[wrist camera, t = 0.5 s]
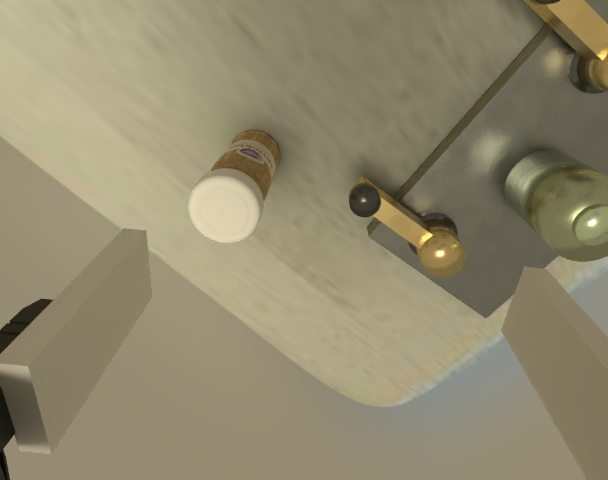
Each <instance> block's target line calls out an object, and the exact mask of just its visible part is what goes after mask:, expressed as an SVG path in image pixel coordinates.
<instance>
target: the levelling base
mask: <svg viewBox="0 0 608 480" xmlns="http://www.w3.org/2000/svg"><path fill="white" fill-rule="evenodd" d="M584 1H585V2H586V3H587V4H588V5H589V6H590V7H591V8H592V9H593V10H594V11H595V12H596V13H597V14H598V15H599V16H600V17H601V18H602V19H603V20H604V21H605V22H606V23H607V24H608V0H584ZM579 57H580V55H579V54H578V53H577V52H576V51H575V50H574V49H573V48H572V47H571V46H570V45H569V44H568V43H567V42H566V41H565V40H564V39H563V38H562V37H561V36H560V35H559V34H558V33H557V32H555V31H554V30H553V29H552V28H551V27H550V26H549V25H548V24H546V25H545V26H544V27H543V28H542V29H541V30H540V31H539V33H538V34H537V35H536V36H535V37H534V38H533V39H532V41H531V42H530V43H529V44H528V45H527V46H526V47H525V48H524V50H523V51H522V52H521V53H520V54H519V55H518V56H517V58H516V59H515V60H514V61H513V62H512V63H511V64H510V66H509V67H508V68H507V69H506V70H505V71H504V72H503V73H502V75H501V76H500V77H499V78H498V79H497V80H496V81H495V83H494V84H493V85H492V86H491V87H490V88H489V89H488V90H487V92H486V93H485V94H484V95H483V96H482V97H481V98H480V100H479V101H478V102H477V103H476V104H475V105H474V106H473V108H472V109H471V110H470V111H469V112H468V113H467V114H466V115H465V117H464V118H463V119H462V120H461V121H460V122H459V123H458V125H457V126H456V127H455V128H454V129H453V130H452V131H451V132H450V134H449V135H448V136H447V137H446V138H445V139H444V140H443V142H442V143H441V144H440V145H439V146H438V147H437V148H436V149H435V151H434V152H433V153H432V154H431V155H430V156H429V157H428V159H427V160H426V161H425V162H424V163H423V164H422V165H421V167H420V168H419V169H418V170H417V171H416V172H415V173H414V174H413V176H412V177H411V178H410V179H409V180H408V181H407V182H406V184H405V185H404V186H403V187H402V188H401V189H400V190H399V191H398V193H397V194H396V195H395V196H394V197H393V199H394V200H396V201H397V202H398V203H400V204H401V205H402V206H404V207H405V208H406V209H408V210H409V211H411V212H412V213H413V214H415V215H416V216H417V217H419V218H420V219H421V220H423V221H426V220H429V219H441V220H444V221H446V222H447V223H448V224H449V225H450V226H451V227H452V229H453V231H454V232H455V234H456V235H457V237H458V239H459V240H460V242H461V243H462V245H463V246H464V248H465V250H466V261H465V264H464V266H463V267H462V268H461V269H460V270H459V271H458V272H457V273H455V274H453V275H451V276H448V277H435V276H432V275H430V274H429V273H427V272H426V271H425V269H424V268H423V266H422V263H421V261H420V258H419V256H418V254H417V251H416V249H415V246H414V245H413V244H412V243H410V242H409V241H407V240H406V239H405V238H403V237H402V236H400V235H399V234H398V233H396V232H395V231H393V230H392V229H391V228H389V227H388V226H386V225H385V224H384V223H382V222H381V221H380V220H378V219H377V218H375V219H374V220H373V221H372V222H371V223H370V224H369V226H368V227H367V230H368V235H369V237H370V238H372V239H373V240H375V241H376V242H377V243H379V244H380V245H382V246H383V247H385V248H386V249H387V250H389V251H390V252H392V253H393V254H395V255H396V256H397V257H399V258H400V259H402V260H403V261H405V262H406V263H407V264H409V265H410V266H412V267H413V268H415V269H416V270H417V271H419V272H420V273H422V274H423V275H425V276H426V277H427V278H429V279H430V280H432V281H433V282H435V283H436V284H437V285H439V286H440V287H442V288H443V289H445V290H446V291H447V292H449V293H450V294H452V295H453V296H455V297H456V298H457V299H459V300H460V301H462V302H463V303H465V304H466V305H467V306H469V307H470V308H472V309H473V310H475V311H476V312H477V313H479V314H480V315H482V316H483V317H485V318H487V317H488V316H489V315H491V314H492V313H493V312H494V311H495V310H496V309H497V308H499V307H500V306H501V305H502V304H503V303H504V302H506V301H507V300H508V299H509V298H510V297H511V296H512V295H514V293H515V291H516V288H517V285H518V282H519V280H520V277H521V274H522V271H523V268H524V267H532V268H543V269H544V268H545V267H546V266H547V265H548V264H549V263H550V262H552V261H553V260H554V259H555V258H556V257H557V256H559V255H560V256H562V257H564V258H566V259H569V260H572V261H580V262H585V261H593V260H597V259H601V258H603V257H606V256H608V92H607V91H603V90H598V89H594V88H590V87H587V86H585V85H584V84H582V83H581V82H580V80H579V78H578V76H577V63H578V60H579Z"/></svg>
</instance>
